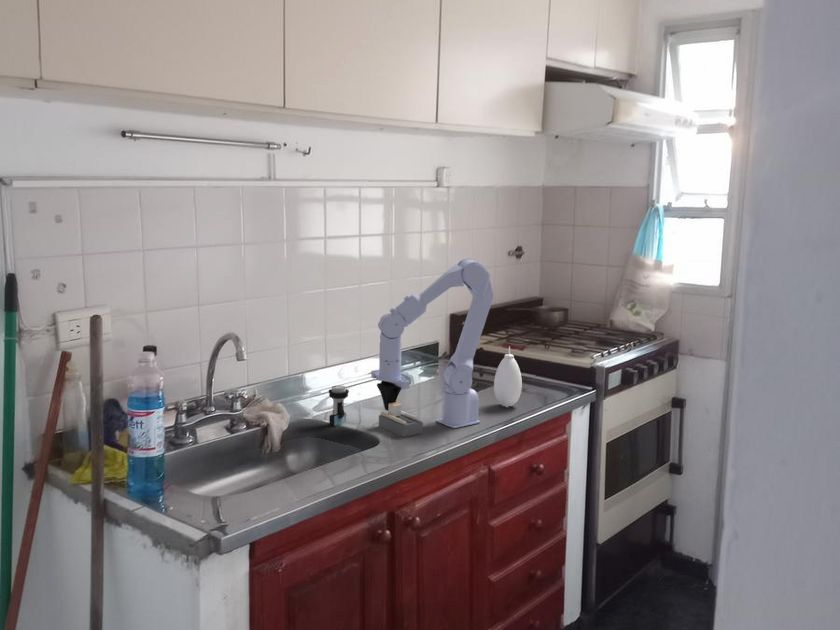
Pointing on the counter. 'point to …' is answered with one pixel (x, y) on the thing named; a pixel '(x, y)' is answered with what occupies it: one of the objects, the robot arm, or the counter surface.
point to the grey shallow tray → (401, 424)
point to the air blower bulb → (508, 381)
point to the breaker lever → (394, 409)
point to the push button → (338, 405)
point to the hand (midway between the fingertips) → (389, 409)
